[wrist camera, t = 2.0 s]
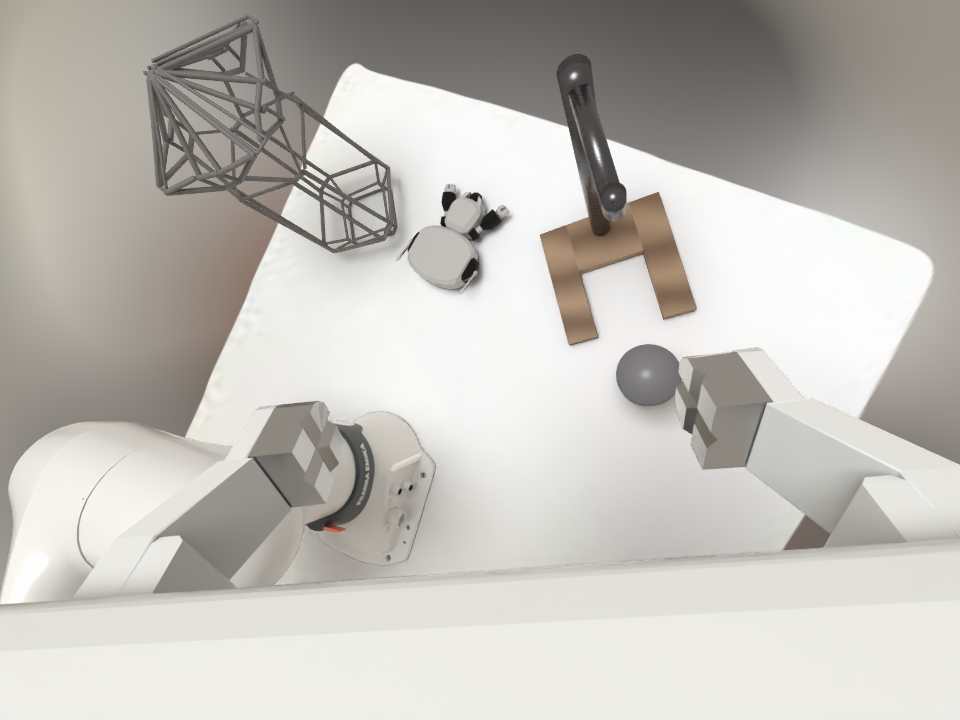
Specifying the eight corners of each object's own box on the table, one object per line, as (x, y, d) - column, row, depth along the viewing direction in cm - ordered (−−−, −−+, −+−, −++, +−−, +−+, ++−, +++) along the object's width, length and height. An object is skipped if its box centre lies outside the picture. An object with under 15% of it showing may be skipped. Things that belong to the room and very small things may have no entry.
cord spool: (670, 408, 55) (679, 409, 44) (616, 402, 57) (613, 401, 46) (674, 358, 55) (684, 346, 45) (621, 354, 57) (619, 342, 47)
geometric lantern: (418, 251, 69) (215, 119, 36) (336, 273, 74) (95, 174, 42) (408, 159, 71) (209, -45, 38) (329, 186, 76) (95, 27, 44)
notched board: (694, 310, 55) (696, 308, 53) (570, 345, 60) (568, 343, 58) (658, 197, 58) (658, 191, 56) (541, 238, 62) (539, 234, 61)
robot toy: (452, 189, 69) (405, 271, 69) (442, 173, 65) (391, 260, 65) (518, 217, 65) (467, 305, 65) (511, 202, 61) (457, 295, 61)
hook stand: (633, 304, 56) (635, 198, 28) (614, 309, 57) (597, 211, 28) (607, 216, 58) (584, 34, 30) (589, 222, 59) (550, 51, 30)
